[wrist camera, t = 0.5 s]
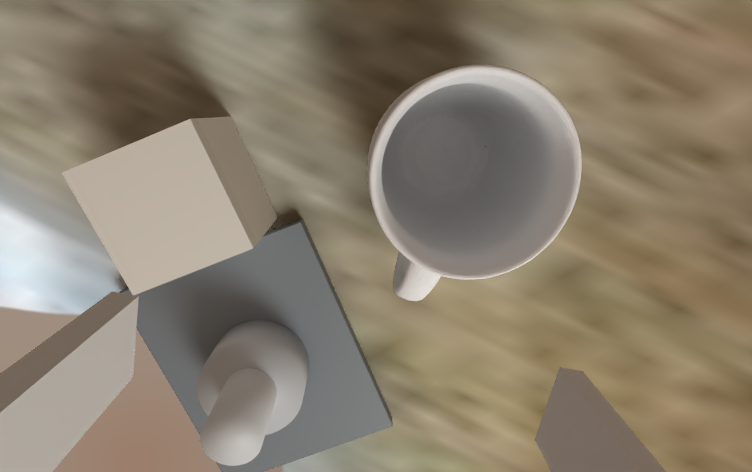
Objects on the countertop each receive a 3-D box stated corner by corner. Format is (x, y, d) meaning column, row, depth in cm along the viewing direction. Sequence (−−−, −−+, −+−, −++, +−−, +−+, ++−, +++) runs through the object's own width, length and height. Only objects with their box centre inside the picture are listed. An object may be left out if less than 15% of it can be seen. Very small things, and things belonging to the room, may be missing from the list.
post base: (124, 288, 38) (37, 354, 28) (302, 218, 37) (279, 260, 27) (232, 473, 43) (192, 585, 33) (391, 417, 42) (401, 515, 32)
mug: (459, 282, 39) (505, 366, 26) (333, 243, 37) (318, 311, 25) (529, 107, 35) (622, 106, 22) (392, 58, 34) (410, 28, 21)
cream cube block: (130, 158, 35) (61, 172, 27) (230, 116, 35) (190, 118, 26) (182, 255, 37) (133, 295, 29) (277, 217, 37) (253, 248, 29)
